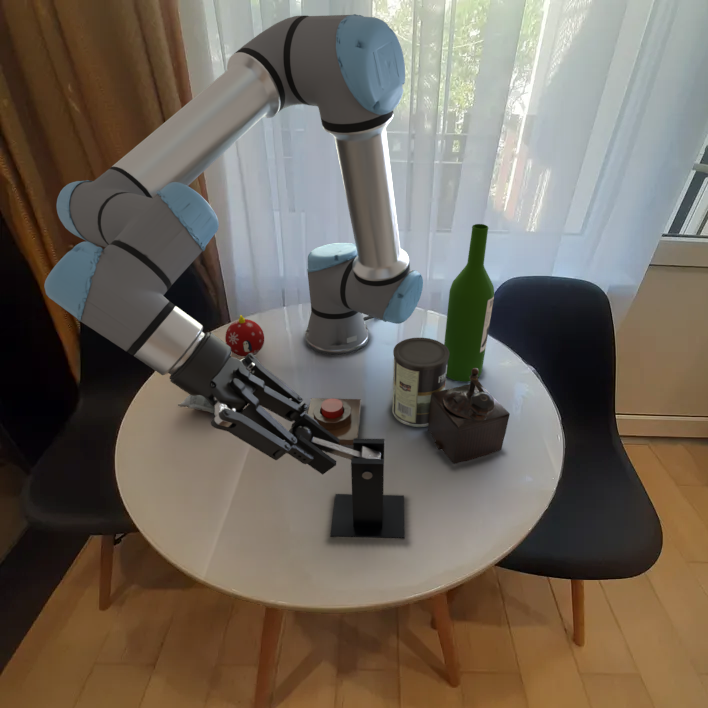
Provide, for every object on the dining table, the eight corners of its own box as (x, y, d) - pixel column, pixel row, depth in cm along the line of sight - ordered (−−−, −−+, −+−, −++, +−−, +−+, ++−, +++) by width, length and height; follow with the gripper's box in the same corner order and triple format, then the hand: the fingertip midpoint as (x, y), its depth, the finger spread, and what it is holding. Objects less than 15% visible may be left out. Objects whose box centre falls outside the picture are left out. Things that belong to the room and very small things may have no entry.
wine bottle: (481, 384, 105) (505, 236, 86) (440, 379, 106) (454, 232, 87) (482, 361, 112) (504, 220, 93) (443, 357, 113) (457, 217, 94)
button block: (311, 406, 98) (310, 390, 96) (361, 407, 98) (360, 391, 96) (302, 447, 88) (300, 431, 86) (357, 449, 88) (356, 432, 86)
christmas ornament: (265, 342, 118) (259, 305, 112) (267, 361, 111) (262, 322, 105) (228, 346, 116) (221, 309, 110) (229, 366, 109) (220, 327, 103)
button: (323, 405, 93) (322, 398, 92) (343, 405, 93) (343, 398, 92) (320, 418, 89) (319, 411, 88) (342, 419, 89) (341, 412, 88)
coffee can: (445, 398, 101) (451, 340, 92) (439, 431, 93) (446, 370, 84) (396, 392, 102) (398, 334, 94) (387, 423, 94) (388, 362, 86)
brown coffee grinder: (422, 432, 92) (429, 352, 82) (472, 418, 96) (485, 340, 85) (464, 490, 81) (477, 406, 70) (519, 472, 84) (540, 389, 74)
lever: (281, 451, 65) (289, 433, 63) (285, 433, 68) (293, 415, 66) (371, 480, 68) (382, 463, 66) (372, 462, 71) (382, 445, 69)
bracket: (330, 540, 72) (324, 470, 64) (335, 498, 79) (331, 430, 70) (404, 542, 72) (408, 472, 64) (403, 500, 79) (407, 432, 70)
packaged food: (180, 415, 95) (174, 395, 92) (214, 381, 104) (210, 362, 101) (219, 424, 93) (215, 404, 90) (250, 389, 102) (247, 370, 100)
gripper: (192, 336, 66) (320, 430, 76) (141, 414, 53) (304, 516, 62) (224, 302, 63) (354, 405, 73) (178, 375, 50) (344, 490, 59)
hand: (331, 456), depth 68 cm, fingers closed on lever, 4 cm apart
